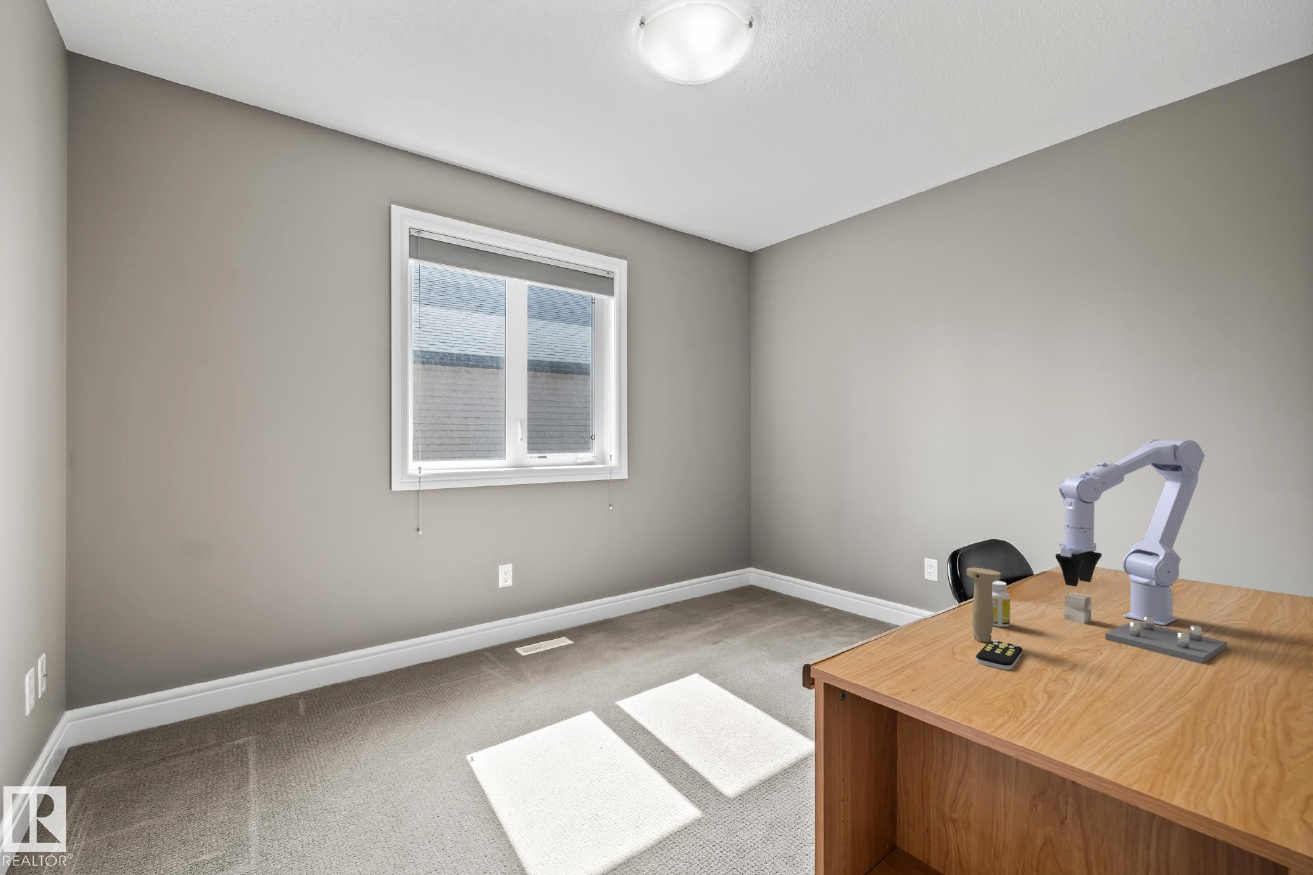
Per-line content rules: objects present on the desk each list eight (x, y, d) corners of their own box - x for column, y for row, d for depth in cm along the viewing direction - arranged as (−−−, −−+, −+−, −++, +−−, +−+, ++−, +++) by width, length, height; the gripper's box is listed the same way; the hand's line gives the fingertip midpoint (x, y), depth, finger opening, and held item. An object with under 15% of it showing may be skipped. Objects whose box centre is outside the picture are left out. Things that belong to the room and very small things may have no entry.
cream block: (1071, 616, 143) (1072, 592, 143) (1090, 621, 140) (1091, 596, 140) (1064, 619, 141) (1065, 594, 141) (1083, 623, 138) (1084, 598, 138)
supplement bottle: (1006, 621, 139) (1007, 580, 139) (1012, 628, 134) (1013, 586, 134) (981, 619, 141) (981, 578, 140) (985, 626, 135) (986, 584, 135)
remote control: (973, 664, 114) (974, 654, 114) (989, 647, 123) (989, 637, 123) (1010, 673, 110) (1010, 662, 110) (1023, 654, 119) (1024, 645, 119)
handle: (973, 633, 130) (973, 566, 130) (1003, 642, 125) (1004, 572, 125) (961, 637, 127) (962, 569, 127) (992, 646, 122) (993, 575, 122)
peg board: (1133, 626, 136) (1133, 609, 136) (1226, 647, 123) (1227, 628, 123) (1105, 638, 128) (1105, 620, 128) (1202, 663, 114) (1202, 643, 114)
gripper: (1073, 522, 148) (1072, 576, 148) (1046, 527, 140) (1045, 583, 140) (1106, 526, 142) (1105, 582, 142) (1080, 531, 134) (1079, 590, 134)
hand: (1078, 583), depth 141 cm, fingers open, 7 cm apart
